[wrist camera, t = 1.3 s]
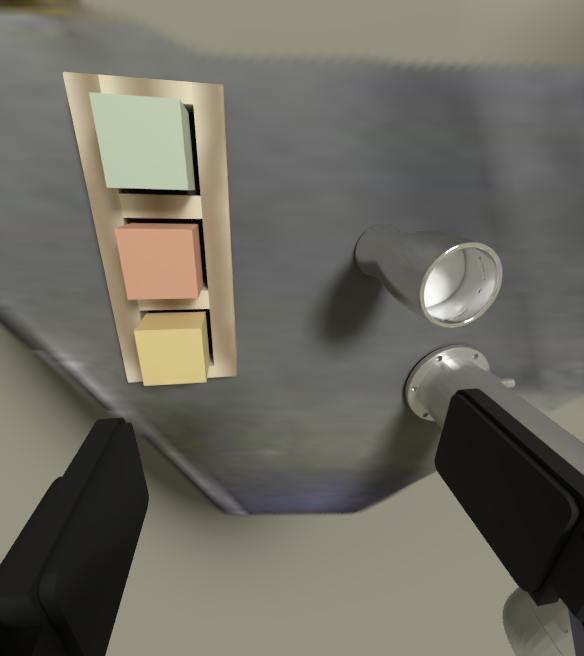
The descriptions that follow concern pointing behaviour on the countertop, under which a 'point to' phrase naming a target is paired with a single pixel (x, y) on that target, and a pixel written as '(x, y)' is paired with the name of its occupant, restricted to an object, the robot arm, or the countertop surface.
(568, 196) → the countertop surface
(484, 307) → the beer glass
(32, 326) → the countertop surface
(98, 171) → the button board
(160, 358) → the ochre button
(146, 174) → the sage button
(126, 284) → the terracotta button
